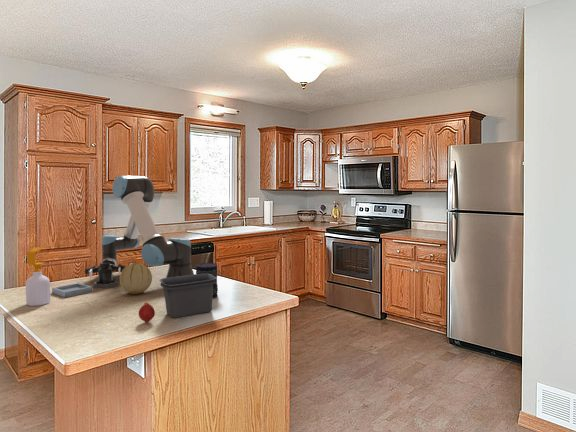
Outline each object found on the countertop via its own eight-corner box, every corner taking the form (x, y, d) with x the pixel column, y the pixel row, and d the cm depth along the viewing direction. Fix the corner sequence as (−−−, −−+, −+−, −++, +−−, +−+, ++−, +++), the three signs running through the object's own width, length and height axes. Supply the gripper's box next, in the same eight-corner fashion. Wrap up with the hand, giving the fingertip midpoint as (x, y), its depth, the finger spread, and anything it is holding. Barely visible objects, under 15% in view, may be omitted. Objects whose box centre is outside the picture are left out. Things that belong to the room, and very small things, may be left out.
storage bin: (166, 321, 161) (166, 285, 160) (157, 311, 175) (156, 277, 173) (219, 313, 172) (219, 278, 171) (206, 303, 185) (206, 271, 184)
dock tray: (92, 291, 205) (92, 286, 205) (64, 297, 195) (64, 292, 195) (79, 287, 213) (79, 282, 213) (52, 293, 203) (51, 287, 203)
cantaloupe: (126, 299, 192) (125, 266, 191) (115, 292, 203) (114, 262, 202) (157, 293, 202) (156, 262, 200) (145, 288, 213) (145, 258, 212)
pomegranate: (141, 320, 163) (140, 299, 162) (156, 319, 163) (155, 299, 163) (137, 325, 157) (136, 304, 156) (152, 324, 158) (152, 303, 157)
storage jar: (222, 295, 200) (221, 263, 198) (209, 300, 191) (209, 267, 189) (204, 292, 204) (204, 262, 203) (191, 297, 195) (191, 265, 194)
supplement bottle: (115, 284, 221) (114, 261, 220) (108, 287, 214) (107, 264, 213) (102, 284, 221) (102, 261, 220) (95, 287, 214) (95, 263, 214)
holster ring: (121, 285, 218) (121, 281, 218) (101, 289, 210) (101, 285, 210) (110, 282, 225) (109, 278, 225) (89, 286, 216) (89, 282, 216)
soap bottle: (55, 301, 188) (52, 247, 186) (37, 307, 180) (34, 250, 178) (40, 299, 191) (37, 246, 189) (21, 305, 183) (18, 249, 181)
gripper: (132, 270, 238) (131, 278, 218) (83, 273, 230) (77, 282, 210) (132, 257, 238) (130, 264, 218) (83, 260, 230) (77, 267, 210)
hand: (104, 273), depth 214 cm, fingers open, 13 cm apart
